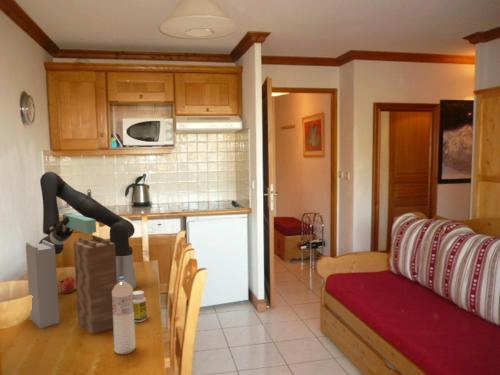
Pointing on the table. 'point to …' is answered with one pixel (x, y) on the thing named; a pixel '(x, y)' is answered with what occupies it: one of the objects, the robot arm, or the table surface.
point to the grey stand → (42, 283)
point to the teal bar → (81, 223)
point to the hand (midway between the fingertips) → (73, 217)
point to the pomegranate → (67, 285)
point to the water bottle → (123, 317)
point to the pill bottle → (139, 306)
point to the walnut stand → (95, 283)
